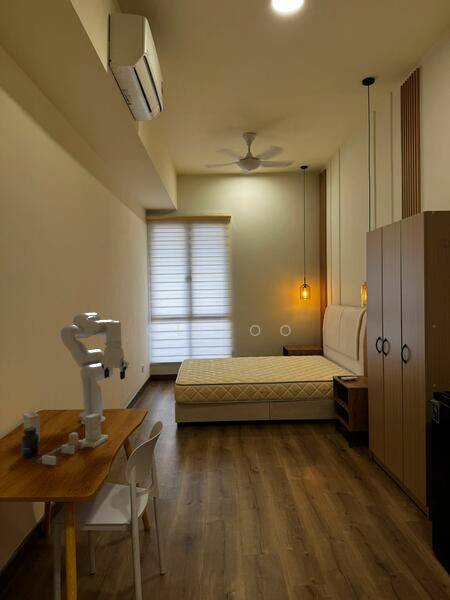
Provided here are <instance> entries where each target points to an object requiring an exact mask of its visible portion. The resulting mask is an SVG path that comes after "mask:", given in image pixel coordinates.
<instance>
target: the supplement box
mask: <svg viewBox="0 0 450 600" xmlns="http://www.w3.org/2000/svg"><path fill="white" fill-rule="evenodd" d="M22 417H23V430H24V429H26V428H29V427H35V428H36V433H37V434H38V435H39V443H40V442H41V430H40V428H41V427H40V414H38V413H35V412H33V411H32V412H28V413H27V412H26V413H24V414H23V415H22Z"/></svg>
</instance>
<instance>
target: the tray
mask: <svg viewBox="0 0 450 600" xmlns="http://www.w3.org/2000/svg"><path fill="white" fill-rule="evenodd" d="M81 440H82V441H83V448H93V449H95V448H97V447H98V446H99V445H101V444H103V443H105V442H106V441H107V440H109V435H107V434H101V439H100V440H98V441H96V442H95V443H90V442H86V437H85V438H83V439H81Z"/></svg>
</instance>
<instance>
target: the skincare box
mask: <svg viewBox="0 0 450 600" xmlns="http://www.w3.org/2000/svg"><path fill="white" fill-rule="evenodd" d="M84 428H85V429H84V430H85V433H84V434H85V438H86V442H90V443H95V442H96V441H98V440H100V439H101V435H102V422H101V414H95V413H94V414H91V415H89V416H86V417H85V424H84Z"/></svg>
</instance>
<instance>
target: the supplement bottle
mask: <svg viewBox="0 0 450 600" xmlns="http://www.w3.org/2000/svg"><path fill="white" fill-rule="evenodd" d="M20 442H21V443H20V444H21V457H22V459H24V460H25V459H26V460H29V459H34V458H37V457H38V456H39V454H40V442H39V435H38V434H37V433H36V428H35V427H29V428H26V429H24V428H23V436H21V441H20Z"/></svg>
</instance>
